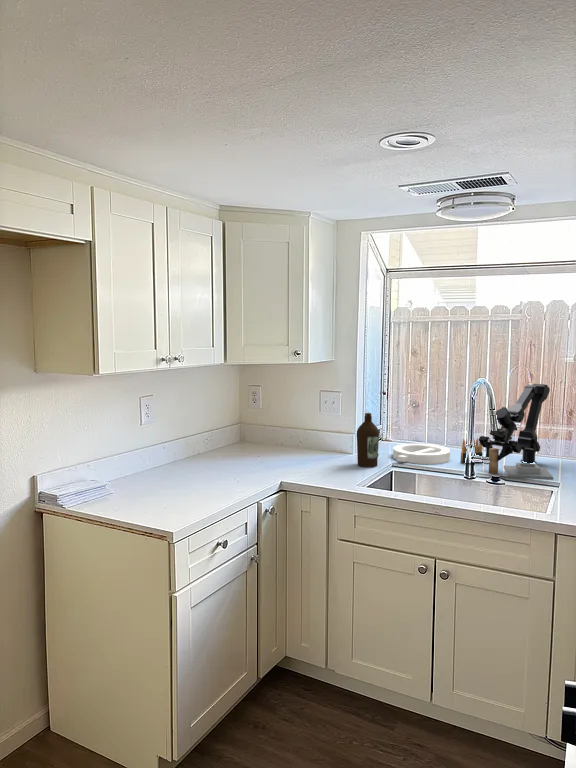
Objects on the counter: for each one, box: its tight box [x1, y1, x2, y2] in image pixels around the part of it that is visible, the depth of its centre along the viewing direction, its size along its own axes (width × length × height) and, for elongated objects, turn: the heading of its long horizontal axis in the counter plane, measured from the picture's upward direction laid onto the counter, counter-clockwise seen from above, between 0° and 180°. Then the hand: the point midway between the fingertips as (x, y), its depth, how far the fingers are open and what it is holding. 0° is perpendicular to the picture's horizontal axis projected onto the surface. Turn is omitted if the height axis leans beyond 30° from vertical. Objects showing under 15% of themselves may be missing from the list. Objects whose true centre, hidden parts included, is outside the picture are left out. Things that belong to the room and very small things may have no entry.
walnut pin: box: [488, 447, 500, 475], centre depth 268 cm, size 4×4×11 cm
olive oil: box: [356, 412, 380, 468], centre depth 282 cm, size 11×11×25 cm
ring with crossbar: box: [392, 443, 451, 465], centre depth 300 cm, size 28×28×5 cm
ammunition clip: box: [460, 437, 483, 464], centre depth 288 cm, size 11×2×12 cm, turn 101°
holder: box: [503, 462, 554, 480], centre depth 268 cm, size 18×18×4 cm
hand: (492, 459), depth 267 cm, fingers open, 5 cm apart
